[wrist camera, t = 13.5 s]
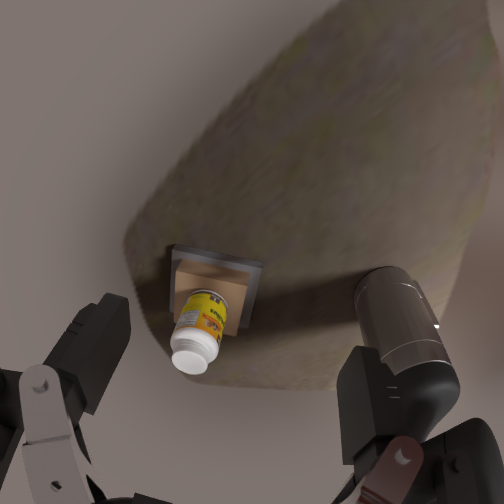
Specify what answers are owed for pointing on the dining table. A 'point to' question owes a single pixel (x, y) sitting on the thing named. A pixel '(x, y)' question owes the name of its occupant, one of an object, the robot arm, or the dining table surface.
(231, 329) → the pedestal
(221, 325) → the supplement bottle
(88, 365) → the robot arm
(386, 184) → the dining table surface
